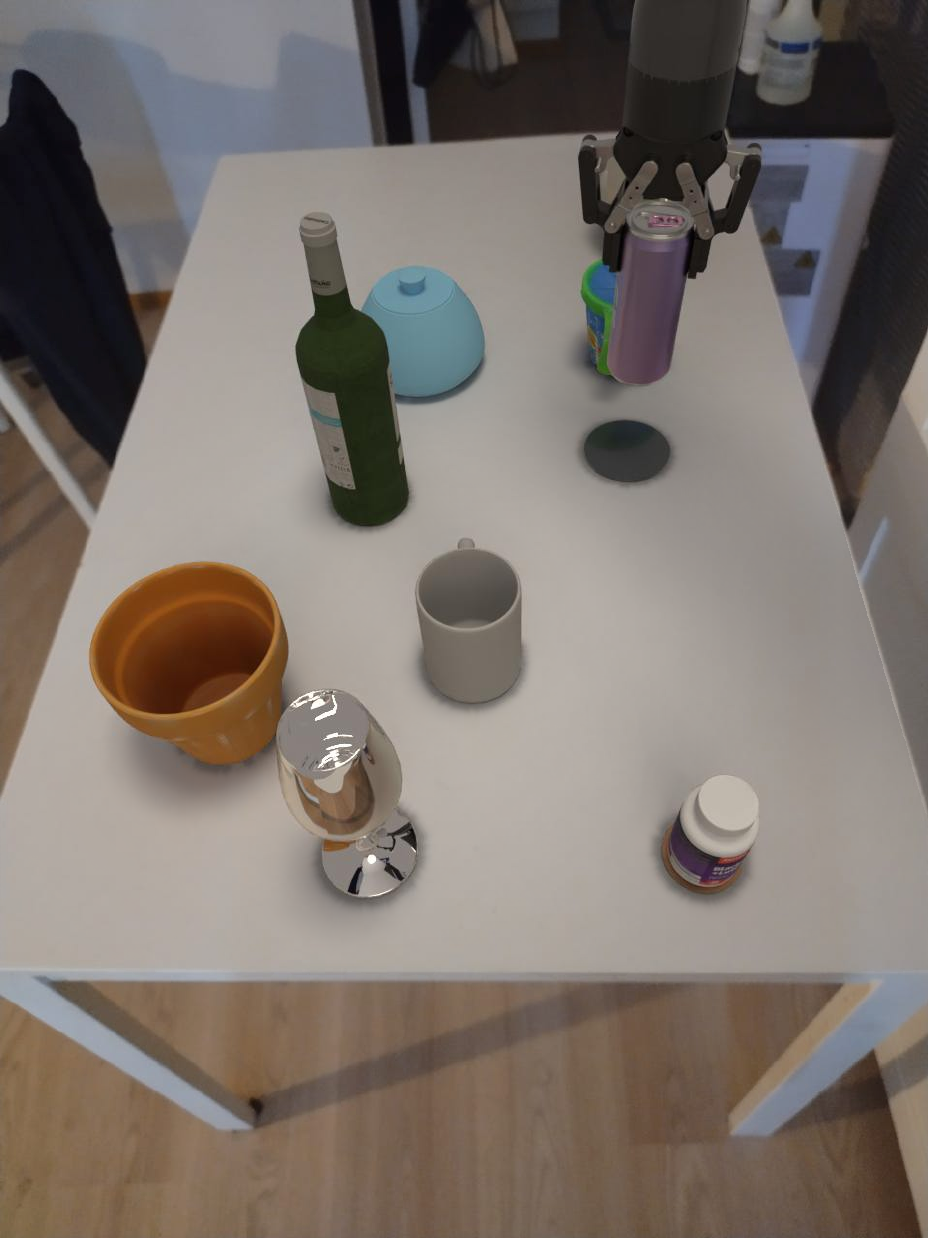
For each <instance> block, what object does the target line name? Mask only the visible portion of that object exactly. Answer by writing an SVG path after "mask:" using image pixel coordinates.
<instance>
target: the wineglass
mask: <svg viewBox="0 0 928 1238" xmlns="http://www.w3.org/2000/svg"><path fill="white" fill-rule="evenodd" d="M275 737H276V766H277V776H278V782H279V786H280V791H281V794H282V797H283V800H284V803H285V805H286V807H287V809H288V812H290V815H291V816H292V817H293V818H294V820H295V821H297V823H298V824H299V825H300V826H301V828H303V829H304V830H305V831H306V832H308V833H309V834H310V835H313V836H315V837H317V838H319V839H322V840H323V841H322V846H321V863H322V867H323V871H324V872H325V875H326V876H327V878H328V880H329V881H330V882H331V884H333V885H334V887H335V888H336V889H338V890H339V891H341V892H342V893H344V894H346V895H348V896H350V897H354V898H360V899H372V898H377V897H382V896H384V895H386V894H389V893H391V892H393V891H395V890H396V889H398V888H399V887H400V886H401V885H402V884H403V883H405V882H406V880H407V879H408V878H409V876H410V875H411V874H412V872H413V871H414V868H415V866H416V864H417V860H418V857H419V847H420V846H419V838H418V833H417V831H416V828H415V826H414V825H413V823H412V821H411V819H410V818H409V817H408V816H407V815H406V814H405V813H404V812H402V811H401V810H400V809H398V808H396V807H397V805H398V804H399V802H400V798H401V794H402V789H403V771H402V765H401V761H400V758H399V756H398V753H397V750H396V747H395V745H394V744H393V742H392V741H391V738H390V737H389V735H388V734H387V733H386V731H385V729H384V728H383V727H382V725H381V724H380V723H379V722H378V720H377V719H376V717H374V716H373V714H372V713H371V712H370V710H368V708H366V706H365V705H364V704H363V703H362V702H361V701H360V700H359V699H358V698H357V697H356V696H355V695H352V694H351V693H349V692H347V691H344V690H340V689H336V688H321V689H316V690H312V691H309V692H306V693H305V694H303V695H301V696H298V698H296V699H294V700H293V701H292V702H291V703H290V704H289V705H288V706H287V708H285V710H284V712H283V713H282V714H281V718H280V721H279V723H278V727H277V731H276V733H275Z"/></svg>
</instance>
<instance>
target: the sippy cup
mask: <svg viewBox="0 0 928 1238" xmlns="http://www.w3.org/2000/svg"><path fill="white" fill-rule="evenodd" d="M616 275H617V273H609V266H606V265H603V262H602V258H600V259H597V260H596V261H595V262H593V263H591V264H590V265H589V266H588V267H587V268H586V270H585V271H584V273H583V275H582V279H581V289H580V296H581V298H582V301H583V302H584V303H585V318H586V330H587V338H588V339H587V340H588V350H589V355H590V359H591V363H592V364H593V365H595V366H596V369H597V371H598V373H600V374H602V375H605V376H612V377H614V376H613V375H612V374H611V372H610V370H609V369H608V366H607V355H608V346H609V337H610V328H611V319H612V311H613V302H614V293H615V284H616Z"/></svg>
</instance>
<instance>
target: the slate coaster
mask: <svg viewBox="0 0 928 1238" xmlns="http://www.w3.org/2000/svg"><path fill="white" fill-rule="evenodd" d="M583 456H584V459H585V461H586V463H587V465H588V466H589V467H590V468H591V469H592V470H593V471H594V472H595V473H597V474H599V475H600V476H602V477H604V478H606V479H609V480H612V481H616V482H624V483H637V482H641V481H645V480H648V479H651V478H653V477H656V476H657V475H658V474H660V473H661V472H662V471H663V470H664V469H666V466H667V465H668V463H669V461H670V458H671V457H670V456H671V448H670V443H669V441H668V440H667V438H666V437H665V436H664V434H663V433H662V432H661V431H660V430H659V429H657V428H655V427H653V426H652V425H649V424H647V423H644V422H642V421H637V420H633V419H632V420H629V419H620V420H619V419H618V420H613V421H608V422H605V423H603V424H600V425H599V426H597V427H595V428H593V430H591V431H590V432H589V434H588V435H587V436H586V438H585V440H584V443H583Z"/></svg>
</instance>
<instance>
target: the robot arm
mask: <svg viewBox="0 0 928 1238" xmlns="http://www.w3.org/2000/svg"><path fill="white" fill-rule="evenodd" d="M747 5H748V0H634V5H633V10H632V17H631V23H630V24H631V25H630V32H629V47H628V57H627V69H626V80H625V88H624V89H625V91H624V101H623V112H622V123H621V128H620V130H619V131H618V133H617V134H616V136H615V138H608V139H598V138H597V137H596V136H595V135H594V134H586V135H585V136H583V138H582V140H581V144H580V148H579V152H578V155H577V165H578V175H579V176H578V177H579V188H580V189H579V190H580V200H581V213H582V220H583V222H584V223H585V224H587V225H594V224H595V225H598V226H600V227H601V228H602V230H603V243H602V251H601V252H602V254H601V259H602V262H603V265H606V266H609V273H617V270H618V261H619V252H620V242H621V233H622V227H623V221H624V220H625V218H626V217H627V215H628V214H629V213H630V212H631V211H632V210H633V208H634V207H635V205H636V203H637V202H638V200H639V199H640V197H641V196H643V199H646V200H655V199H660V198H665V199H668V200H671V201H680V202H683V199H684V198H685V199H686V202H687V205H688V208H689V211H690V214H691V216H692V217H693V219H694V222H695V224H694V230H695V235H694V242H693V247H692V253H691V258H690V264H689V269H688V274H687V279H688V280H696V279H697V275H698V273H700V274H703V273H704V272H705V270H707V266H708V262H709V257H710V256H709V255H710V251H711V245H712V241H713V238H715V236H717V235H719V234H722V233H726V234H727V235H732V234H735V233H737V232H738V230H739V229H740V225H741V222H742V220H743V217H744V215H745V212H746V210H747V207H748V203H749V201H750V199H751V195H752V193H753V190H754V188H755V186H756V183H757V179H758V177H759V174H760V172H761V169H762V162H763V161H762V158H763V157H762V155H763V154H762V153H763V152H762V151H763V149H762V145H760V144H759V143H758V142H751V143H749V144H748V145H747V146H746V147H745V146H739V145H735V144H730V143H729V141H728V138H727V136H726V125H727V119H728V115H729V109H730V103H731V99H732V98H731V97H732V92H733V87H734V81H735V77H736V71H737V66H738V60H739V55H740V50H741V45H742V43H743V38H744V28H745V22H746V16H747V15H746V14H747ZM611 157H614V158H615V160H616V161H617V163H618V165H619V166H620V168H621V170H622V171H623V173H624V175H625V176H626V177H625V179H624V181H623V182H622V184H621V187H620V189H619V191H618V193H617V194H616V196H615V198H614V199H613V201H612V203H611V204H608V203H606V202H604V201H601V190H600V174H599V173H601V172H603V171H604V170H605V168H606V164H607V160H608V159H609V158H611ZM724 163H725V164H727V165H728V166H729V177H730V179H732V181H733V184H732V185H731V186H732V187H731V189H730V192H729V195H728V198H727V201H726V204H725V207H722V208H719V209H714V205H713V201H712V197H711V195H710V188H709V185H708V183H707V180H708V181H709V179H710V178H711V177H712V176H713V175H714V174H715V173H716V172H717V171H718V170H719V169H720V168H721V167H722V166H723V164H724Z"/></svg>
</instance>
